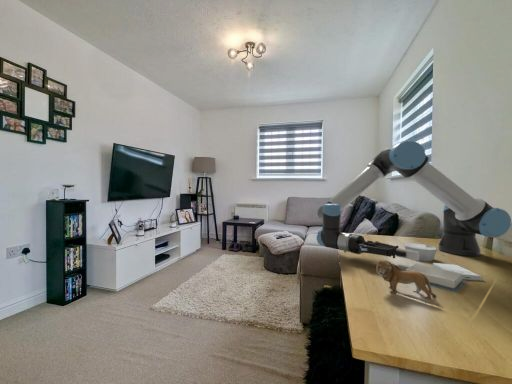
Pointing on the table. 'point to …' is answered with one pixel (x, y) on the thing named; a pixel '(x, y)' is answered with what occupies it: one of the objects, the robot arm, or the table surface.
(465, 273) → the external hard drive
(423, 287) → the lion figurine
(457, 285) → the mat
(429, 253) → the ramekin
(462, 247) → the robot arm
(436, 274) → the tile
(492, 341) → the table surface
